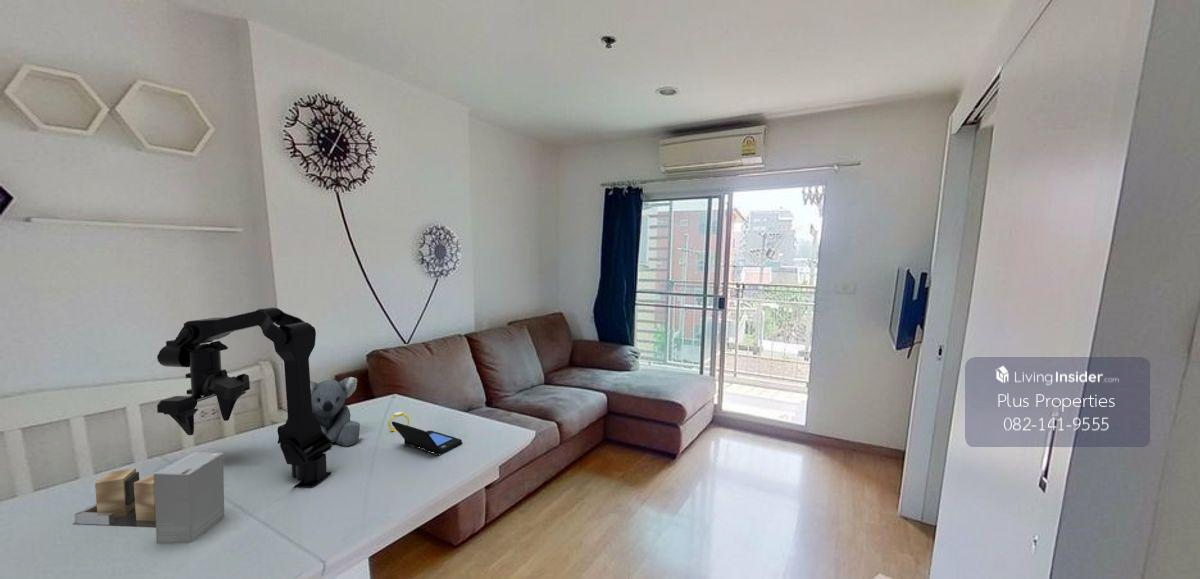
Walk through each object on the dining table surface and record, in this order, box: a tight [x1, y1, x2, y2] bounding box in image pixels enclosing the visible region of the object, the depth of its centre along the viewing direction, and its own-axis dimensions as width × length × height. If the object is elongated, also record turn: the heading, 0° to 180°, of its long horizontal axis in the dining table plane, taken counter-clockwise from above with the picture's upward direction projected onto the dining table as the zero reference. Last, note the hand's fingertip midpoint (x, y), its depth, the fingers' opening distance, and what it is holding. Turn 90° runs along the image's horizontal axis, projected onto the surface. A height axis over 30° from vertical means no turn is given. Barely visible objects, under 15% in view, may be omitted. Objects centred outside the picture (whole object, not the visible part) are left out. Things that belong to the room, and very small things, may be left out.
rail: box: [72, 503, 156, 529], centre depth 87 cm, size 18×9×4 cm, turn 88°
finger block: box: [94, 467, 140, 518], centre depth 87 cm, size 5×5×8 cm
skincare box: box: [152, 451, 225, 545], centre depth 81 cm, size 8×7×16 cm
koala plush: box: [303, 376, 361, 452], centre depth 126 cm, size 17×18×20 cm
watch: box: [388, 411, 410, 432], centre depth 133 cm, size 6×3×6 cm, turn 113°
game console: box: [391, 421, 463, 456], centre depth 122 cm, size 16×14×9 cm
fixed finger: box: [134, 473, 156, 521], centre depth 86 cm, size 5×5×8 cm
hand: (209, 427), depth 105 cm, fingers open, 9 cm apart
